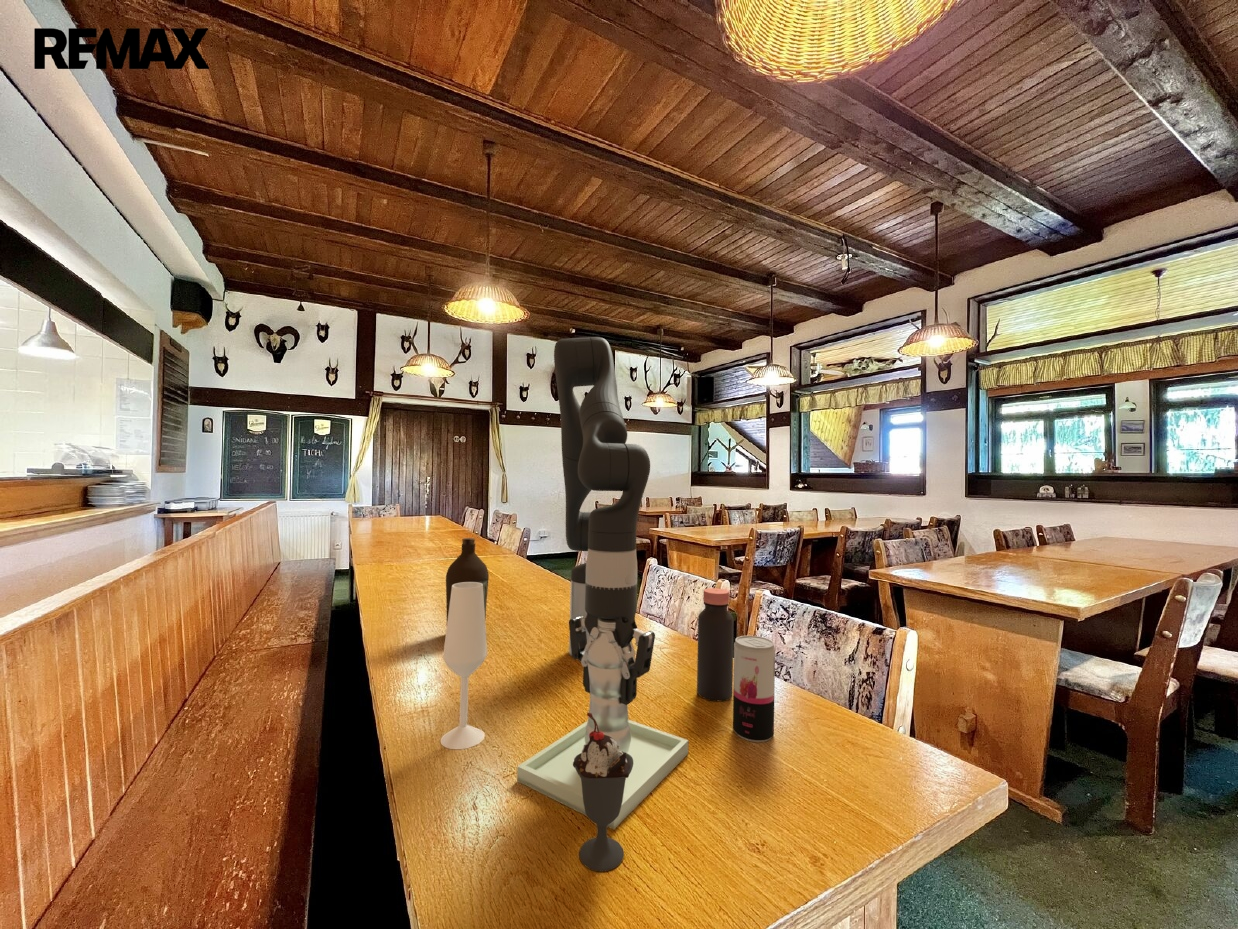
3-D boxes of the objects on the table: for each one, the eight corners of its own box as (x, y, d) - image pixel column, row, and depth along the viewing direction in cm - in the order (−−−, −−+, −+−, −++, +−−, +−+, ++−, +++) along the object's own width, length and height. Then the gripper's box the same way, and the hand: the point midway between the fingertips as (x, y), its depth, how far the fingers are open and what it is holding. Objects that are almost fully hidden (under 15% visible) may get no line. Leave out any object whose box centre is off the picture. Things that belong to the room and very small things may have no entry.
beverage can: (751, 747, 77) (753, 650, 78) (724, 728, 83) (726, 638, 84) (782, 738, 81) (783, 644, 81) (754, 720, 86) (755, 633, 87)
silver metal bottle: (626, 773, 68) (629, 625, 68) (578, 766, 69) (582, 621, 69) (634, 747, 74) (637, 613, 74) (590, 741, 75) (593, 609, 76)
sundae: (570, 834, 58) (574, 703, 58) (628, 832, 58) (630, 702, 59) (570, 880, 51) (573, 732, 52) (634, 877, 52) (637, 731, 52)
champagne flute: (439, 731, 80) (443, 582, 81) (481, 724, 83) (485, 579, 83) (441, 753, 74) (446, 591, 75) (487, 744, 77) (492, 588, 77)
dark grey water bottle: (739, 694, 96) (740, 591, 97) (720, 705, 92) (722, 596, 92) (709, 684, 101) (710, 585, 102) (690, 694, 96) (691, 590, 97)
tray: (602, 722, 84) (602, 710, 84) (688, 753, 75) (688, 740, 75) (517, 781, 68) (517, 766, 68) (614, 829, 59) (614, 812, 59)
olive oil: (436, 635, 128) (439, 538, 129) (474, 627, 136) (477, 535, 136) (455, 645, 121) (459, 542, 121) (494, 636, 128) (497, 539, 129)
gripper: (667, 582, 71) (664, 700, 71) (587, 570, 79) (585, 676, 79) (640, 592, 65) (637, 721, 65) (556, 577, 73) (553, 692, 73)
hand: (608, 696), depth 72 cm, fingers closed on silver metal bottle, 6 cm apart
